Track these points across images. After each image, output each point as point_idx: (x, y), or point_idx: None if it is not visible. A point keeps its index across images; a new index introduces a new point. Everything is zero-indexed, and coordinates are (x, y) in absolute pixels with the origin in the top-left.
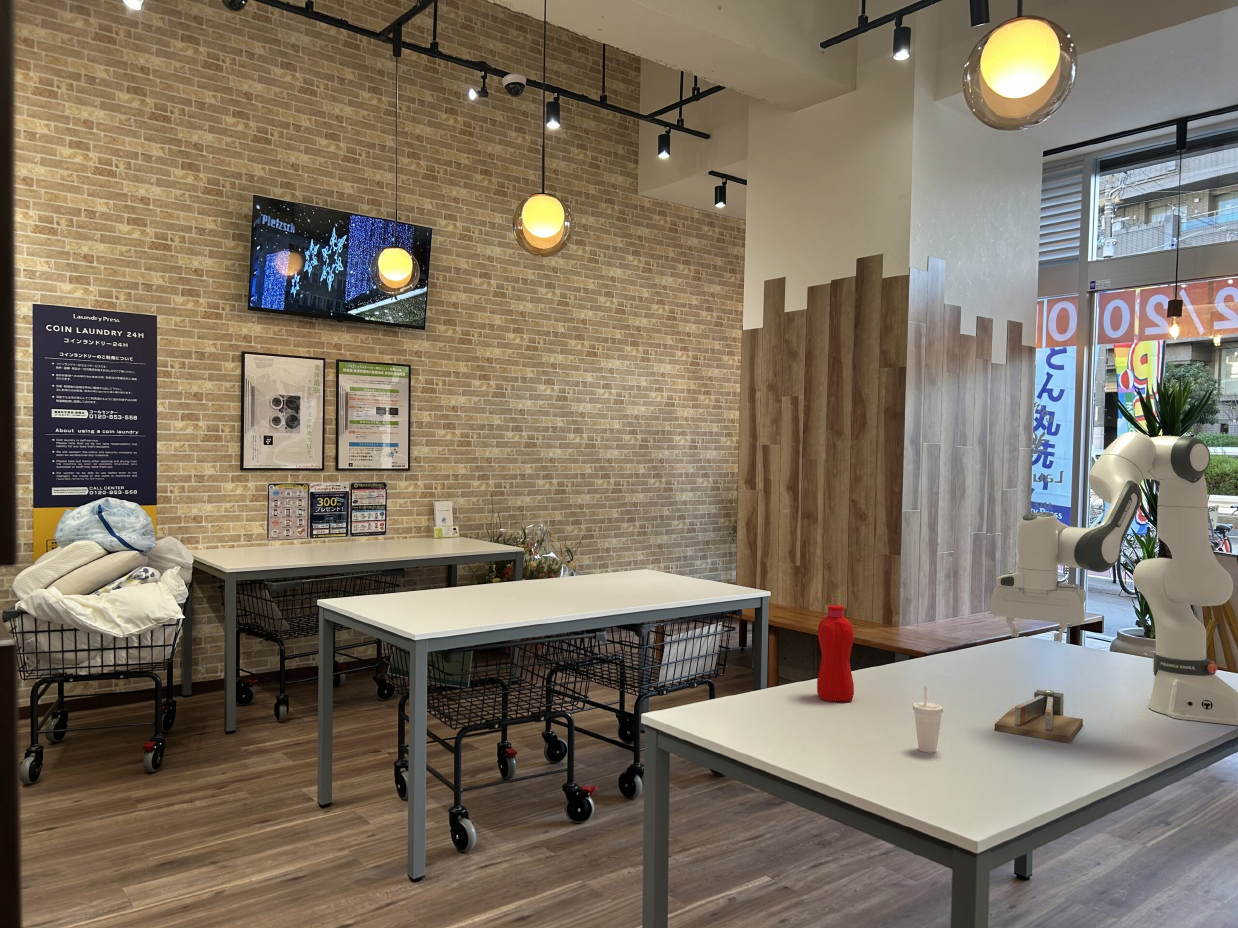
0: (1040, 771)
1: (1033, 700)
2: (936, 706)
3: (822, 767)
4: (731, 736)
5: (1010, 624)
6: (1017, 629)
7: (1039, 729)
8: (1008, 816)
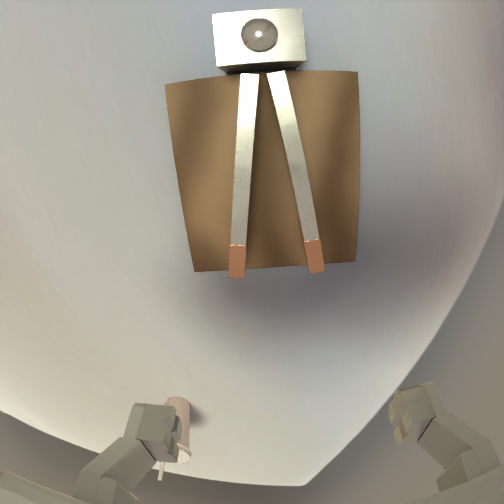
0: (325, 397)
1: (246, 165)
2: (180, 456)
3: None
4: (50, 426)
5: (133, 482)
6: (172, 457)
7: (289, 249)
8: (314, 466)
